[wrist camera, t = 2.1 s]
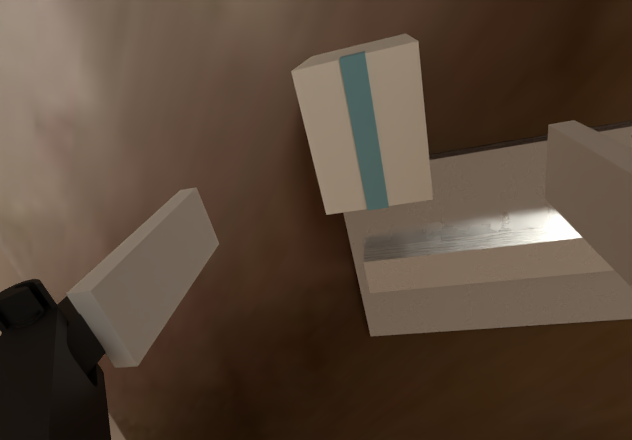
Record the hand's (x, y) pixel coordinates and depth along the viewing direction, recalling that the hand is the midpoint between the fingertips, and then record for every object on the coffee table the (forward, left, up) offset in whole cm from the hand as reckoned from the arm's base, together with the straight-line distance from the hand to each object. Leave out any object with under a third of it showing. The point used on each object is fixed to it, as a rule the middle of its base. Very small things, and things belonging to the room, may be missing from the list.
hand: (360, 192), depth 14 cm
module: (0, 0, -13) cm, 13 cm away
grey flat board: (+12, +8, -13) cm, 19 cm away
